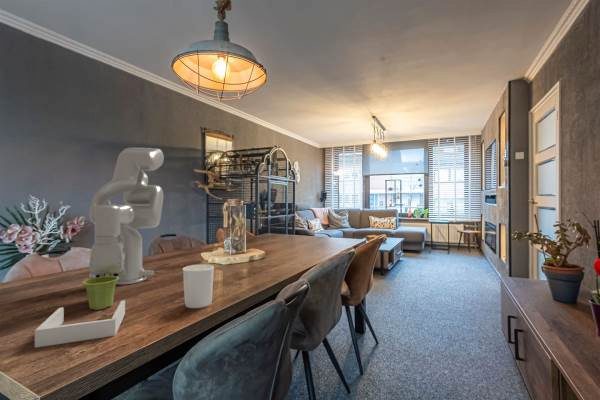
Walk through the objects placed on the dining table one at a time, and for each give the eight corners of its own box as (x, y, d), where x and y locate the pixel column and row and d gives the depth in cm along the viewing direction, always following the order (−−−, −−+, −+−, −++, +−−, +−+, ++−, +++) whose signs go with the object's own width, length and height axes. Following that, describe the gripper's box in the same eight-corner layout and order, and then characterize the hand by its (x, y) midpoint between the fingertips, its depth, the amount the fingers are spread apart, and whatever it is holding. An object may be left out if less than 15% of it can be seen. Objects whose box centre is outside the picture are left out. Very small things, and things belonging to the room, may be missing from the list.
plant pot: (80, 314, 88) (80, 285, 88) (85, 304, 96) (85, 278, 96) (116, 309, 92) (116, 281, 92) (119, 300, 101) (119, 274, 101)
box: (125, 313, 89) (125, 300, 89) (115, 335, 74) (115, 319, 74) (59, 322, 82) (59, 307, 82) (34, 347, 68) (34, 330, 68)
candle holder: (187, 299, 102) (187, 264, 102) (216, 298, 103) (216, 264, 103) (178, 309, 92) (178, 271, 92) (210, 308, 93) (210, 270, 93)
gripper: (133, 238, 110) (133, 287, 110) (85, 240, 104) (84, 292, 104) (130, 240, 103) (130, 293, 103) (78, 242, 97) (78, 298, 97)
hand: (107, 292), depth 103 cm, fingers closed
